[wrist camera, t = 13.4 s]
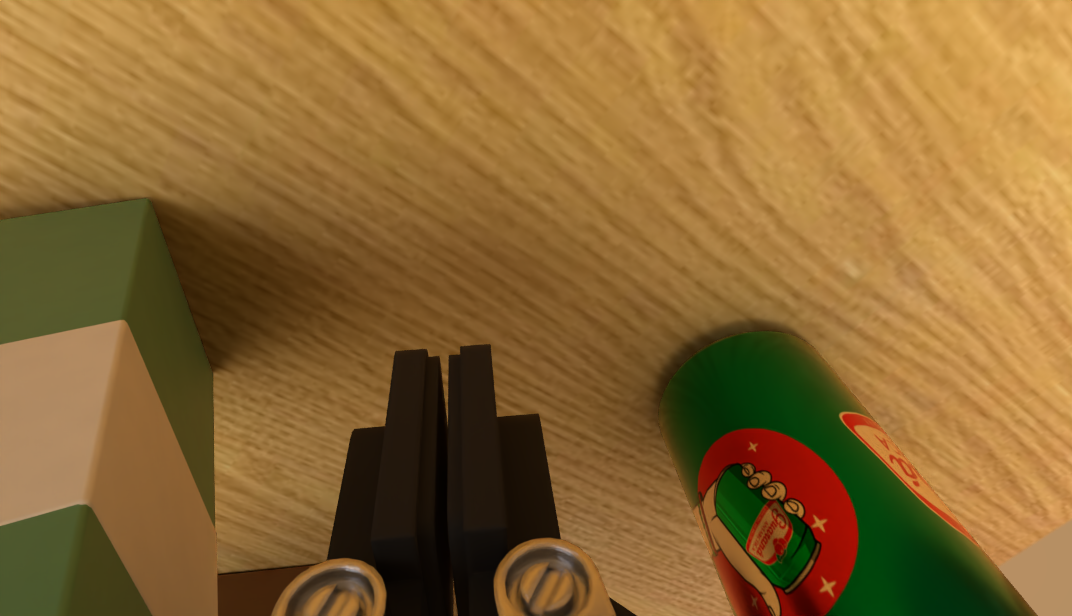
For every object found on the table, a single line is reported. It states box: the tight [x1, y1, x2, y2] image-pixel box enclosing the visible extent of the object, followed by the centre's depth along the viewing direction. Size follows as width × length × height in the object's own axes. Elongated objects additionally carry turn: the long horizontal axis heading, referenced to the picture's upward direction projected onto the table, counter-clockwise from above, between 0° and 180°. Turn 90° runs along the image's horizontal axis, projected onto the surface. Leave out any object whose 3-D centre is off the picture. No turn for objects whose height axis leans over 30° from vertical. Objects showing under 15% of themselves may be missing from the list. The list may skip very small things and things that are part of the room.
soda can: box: [658, 331, 1038, 616], centre depth 14 cm, size 5×5×12 cm
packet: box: [0, 198, 218, 616], centre depth 11 cm, size 11×5×4 cm
